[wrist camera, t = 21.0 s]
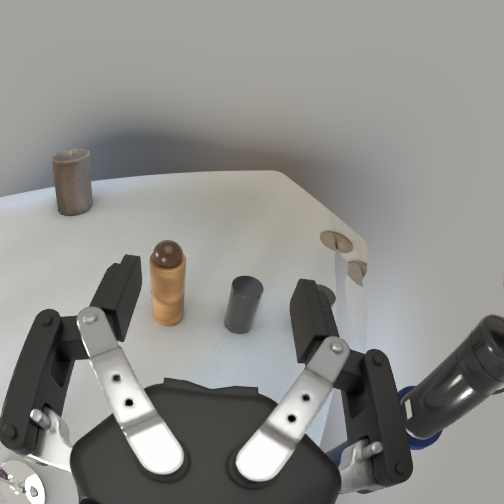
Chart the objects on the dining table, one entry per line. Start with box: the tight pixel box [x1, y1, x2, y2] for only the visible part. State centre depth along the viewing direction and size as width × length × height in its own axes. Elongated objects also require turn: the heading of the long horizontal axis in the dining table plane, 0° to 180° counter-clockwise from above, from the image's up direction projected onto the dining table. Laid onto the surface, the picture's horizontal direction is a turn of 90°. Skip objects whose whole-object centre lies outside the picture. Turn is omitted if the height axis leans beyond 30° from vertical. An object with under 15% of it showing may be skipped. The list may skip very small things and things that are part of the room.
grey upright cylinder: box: [225, 276, 263, 334], centre depth 41 cm, size 4×4×8 cm
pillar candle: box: [53, 149, 92, 215], centre depth 56 cm, size 10×10×15 cm
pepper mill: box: [150, 240, 186, 326], centre depth 38 cm, size 5×5×14 cm
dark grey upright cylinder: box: [316, 285, 336, 308], centre depth 43 cm, size 4×4×8 cm
